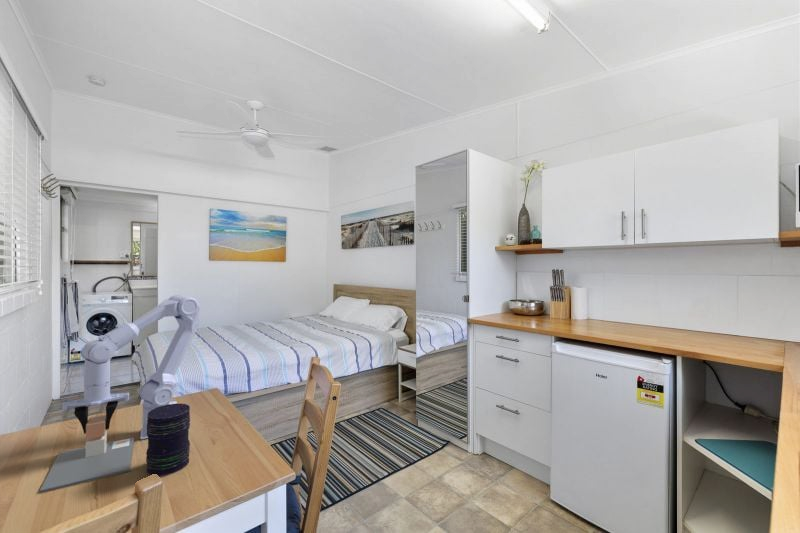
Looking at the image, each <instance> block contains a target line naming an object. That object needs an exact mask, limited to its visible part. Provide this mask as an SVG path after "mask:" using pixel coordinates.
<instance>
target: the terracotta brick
mask: <svg viewBox="0 0 800 533" xmlns="http://www.w3.org/2000/svg"><path fill="white" fill-rule="evenodd" d="M105 426H106V414H102V415H94V416H90V417H89V416H88V422H87V424H86V434H85V441H87V439H93V438H98V437H103V436H105V433H106V431H107V430H105Z"/></svg>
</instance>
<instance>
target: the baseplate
mask: <svg viewBox="0 0 800 533" xmlns="http://www.w3.org/2000/svg"><path fill="white" fill-rule="evenodd" d="M134 445H135V437H134V436H133V437H129V438H124V439H119V440H114V441H109V442H108V441H107V445H106V449H105V452H104V453H103V454H98V455H94V456H89V457H86V446H84V447H79V448H74V449H69V450H64V451H60V452H59V453H58V455H57V456H56V459H55V461H54V462H53V465H52V466H51V468H50V470H49V472H48V474H47V476H46V478H45V480H44V482H43V484H42V485H41V488H40V489H39V494H41V493H47V492H50V491H55V490H58V489H64V488H66V487H67V488H68V487H71V486H75V485H79V484H84V483H87V482H92V481H96V480H100V479H103V478H108V477H112V476H116V475H119V474H124V473H128V472H130V471H131V465H132V464H131V463H132V458H133V451H134Z"/></svg>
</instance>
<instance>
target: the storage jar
mask: <svg viewBox="0 0 800 533" xmlns="http://www.w3.org/2000/svg"><path fill="white" fill-rule="evenodd" d="M190 410H191V406H190V405H189V404H186V403H177V404H169V405H164V406H160V407H157V408H155V409H153V410H151V411H149V412H148V414H147V418H148V420H147V436H148V438H147V449H146V452H145V454H146V457H145V459H146V460H145V461H146V466H147V467H146V474H148V475H149V476H151V475H152V474H157V475H158V476H157V477H163V476H164V477H165V476H168V475H172V474H175V473H177V472H180V471H181V470H183V469H184V468H186V467H187V466H188V464H189V463H190V452H191V451H190V450H191V448H190V447H191V442H190V439H189V429H190V428H191V423H190V421H191V412H190Z"/></svg>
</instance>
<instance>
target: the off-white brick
mask: <svg viewBox="0 0 800 533" xmlns="http://www.w3.org/2000/svg"><path fill="white" fill-rule="evenodd" d="M85 441H86V442H85V447H86V457H89V456H94V455H98V454H103V453H104V452H105V449H106V445H107V443H108V430H106V433H105V436H103V437H98V438H93V439H87V440H85Z"/></svg>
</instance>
